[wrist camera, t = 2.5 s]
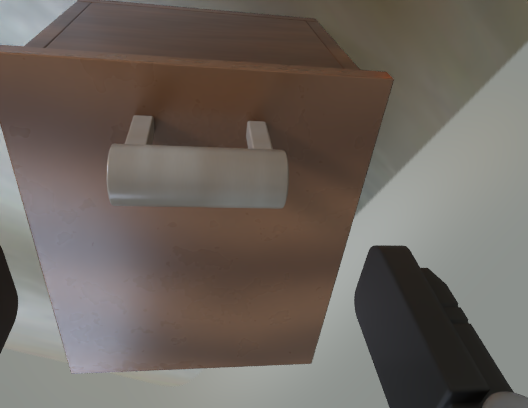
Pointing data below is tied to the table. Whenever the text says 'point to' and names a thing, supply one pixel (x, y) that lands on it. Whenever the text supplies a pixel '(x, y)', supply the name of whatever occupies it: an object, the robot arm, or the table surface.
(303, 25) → the bread box
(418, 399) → the robot arm
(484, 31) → the table surface
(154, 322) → the lid
